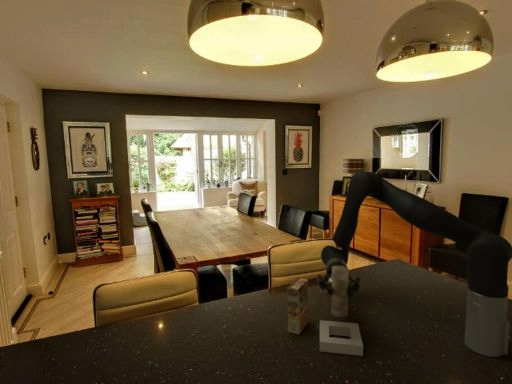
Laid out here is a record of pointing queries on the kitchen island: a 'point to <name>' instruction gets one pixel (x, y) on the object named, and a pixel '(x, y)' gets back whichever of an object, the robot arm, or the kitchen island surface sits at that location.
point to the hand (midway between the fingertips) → (340, 293)
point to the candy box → (297, 305)
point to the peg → (339, 291)
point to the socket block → (340, 344)
